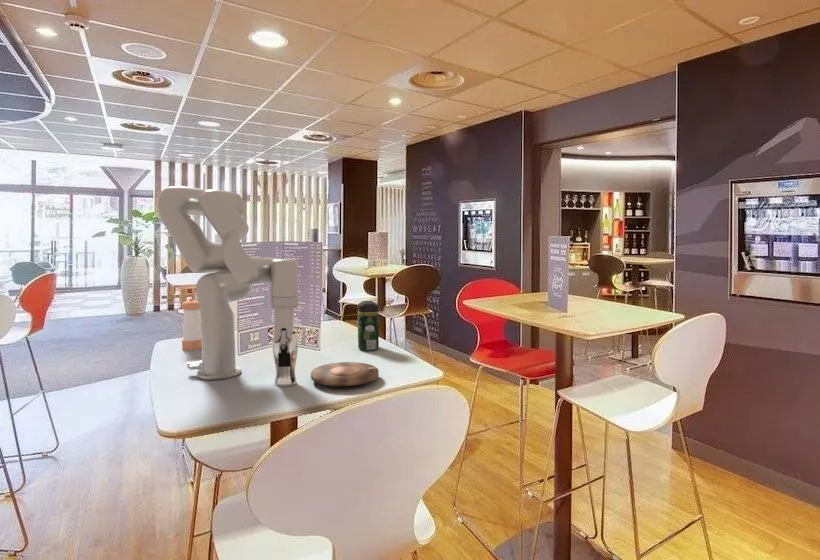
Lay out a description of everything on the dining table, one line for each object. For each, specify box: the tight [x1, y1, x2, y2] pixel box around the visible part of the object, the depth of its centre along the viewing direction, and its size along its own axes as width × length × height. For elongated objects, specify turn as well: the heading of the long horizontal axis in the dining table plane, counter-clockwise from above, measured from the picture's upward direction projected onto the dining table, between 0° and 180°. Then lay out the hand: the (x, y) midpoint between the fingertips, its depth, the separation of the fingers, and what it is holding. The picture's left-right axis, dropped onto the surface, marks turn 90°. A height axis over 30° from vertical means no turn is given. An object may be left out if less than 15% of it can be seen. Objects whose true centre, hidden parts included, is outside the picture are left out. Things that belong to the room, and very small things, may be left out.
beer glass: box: [272, 330, 299, 388], centre depth 131 cm, size 7×7×15 cm
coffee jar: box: [357, 300, 380, 352], centre depth 173 cm, size 10×8×19 cm
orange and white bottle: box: [180, 298, 202, 351], centre depth 172 cm, size 7×7×19 cm
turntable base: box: [322, 383, 367, 389], centre depth 135 cm, size 14×14×2 cm
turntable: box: [310, 361, 380, 386], centre depth 135 cm, size 20×20×2 cm
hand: (285, 362), depth 131 cm, fingers closed on beer glass, 6 cm apart
